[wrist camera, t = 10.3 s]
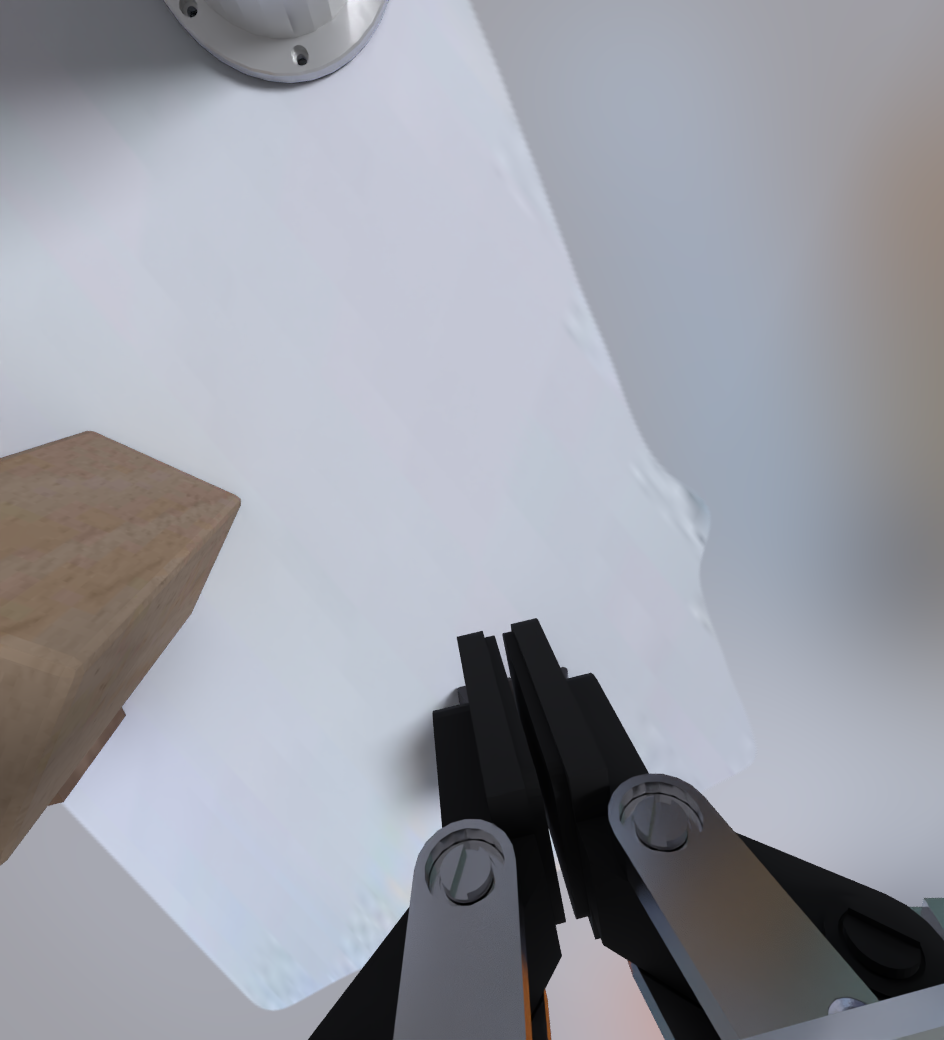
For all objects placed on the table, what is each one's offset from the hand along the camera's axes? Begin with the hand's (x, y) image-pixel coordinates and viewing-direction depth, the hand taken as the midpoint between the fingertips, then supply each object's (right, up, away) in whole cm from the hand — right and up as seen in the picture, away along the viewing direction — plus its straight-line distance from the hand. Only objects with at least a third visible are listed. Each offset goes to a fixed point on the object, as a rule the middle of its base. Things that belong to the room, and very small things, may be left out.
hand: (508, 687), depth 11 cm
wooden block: (-23, +3, +25) cm, 34 cm away
